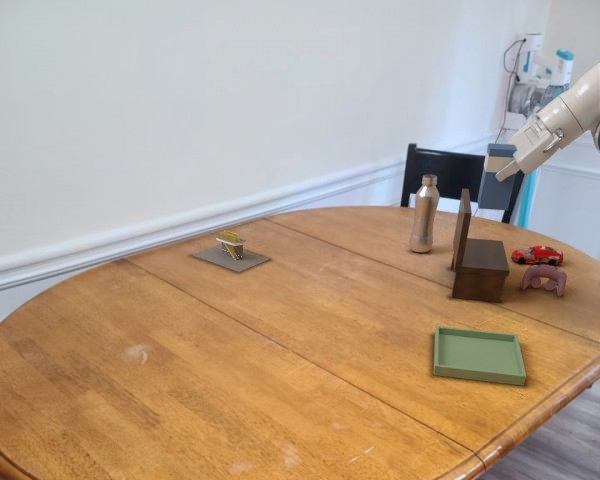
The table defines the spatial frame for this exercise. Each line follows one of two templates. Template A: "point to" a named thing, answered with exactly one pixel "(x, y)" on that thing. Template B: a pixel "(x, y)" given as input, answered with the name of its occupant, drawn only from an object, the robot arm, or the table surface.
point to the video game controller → (545, 271)
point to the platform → (231, 253)
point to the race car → (538, 255)
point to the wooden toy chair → (476, 261)
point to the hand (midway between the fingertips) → (495, 174)
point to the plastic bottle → (424, 215)
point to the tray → (478, 355)
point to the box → (490, 188)
